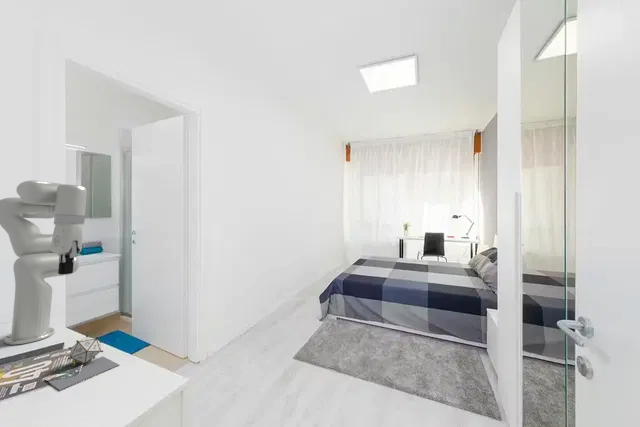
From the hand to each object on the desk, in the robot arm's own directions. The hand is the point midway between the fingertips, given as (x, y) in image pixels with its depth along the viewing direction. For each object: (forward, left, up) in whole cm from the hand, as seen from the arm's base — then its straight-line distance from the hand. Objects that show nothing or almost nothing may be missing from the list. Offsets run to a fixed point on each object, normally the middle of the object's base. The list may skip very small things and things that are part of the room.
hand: (65, 273), depth 87 cm
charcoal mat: (+20, -1, -27) cm, 33 cm away
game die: (+10, 0, -25) cm, 26 cm away
